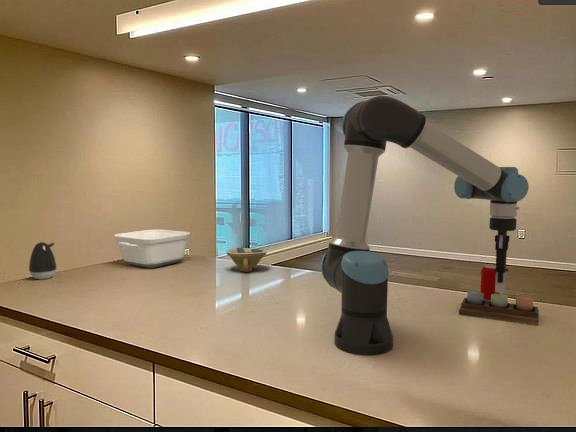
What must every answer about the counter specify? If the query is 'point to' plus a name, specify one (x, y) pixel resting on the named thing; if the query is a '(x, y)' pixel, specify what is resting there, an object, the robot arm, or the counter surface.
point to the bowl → (246, 258)
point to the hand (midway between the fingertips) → (499, 292)
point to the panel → (499, 312)
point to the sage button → (499, 300)
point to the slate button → (475, 297)
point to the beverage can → (488, 281)
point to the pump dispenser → (42, 261)
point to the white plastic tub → (152, 247)
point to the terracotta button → (524, 303)
